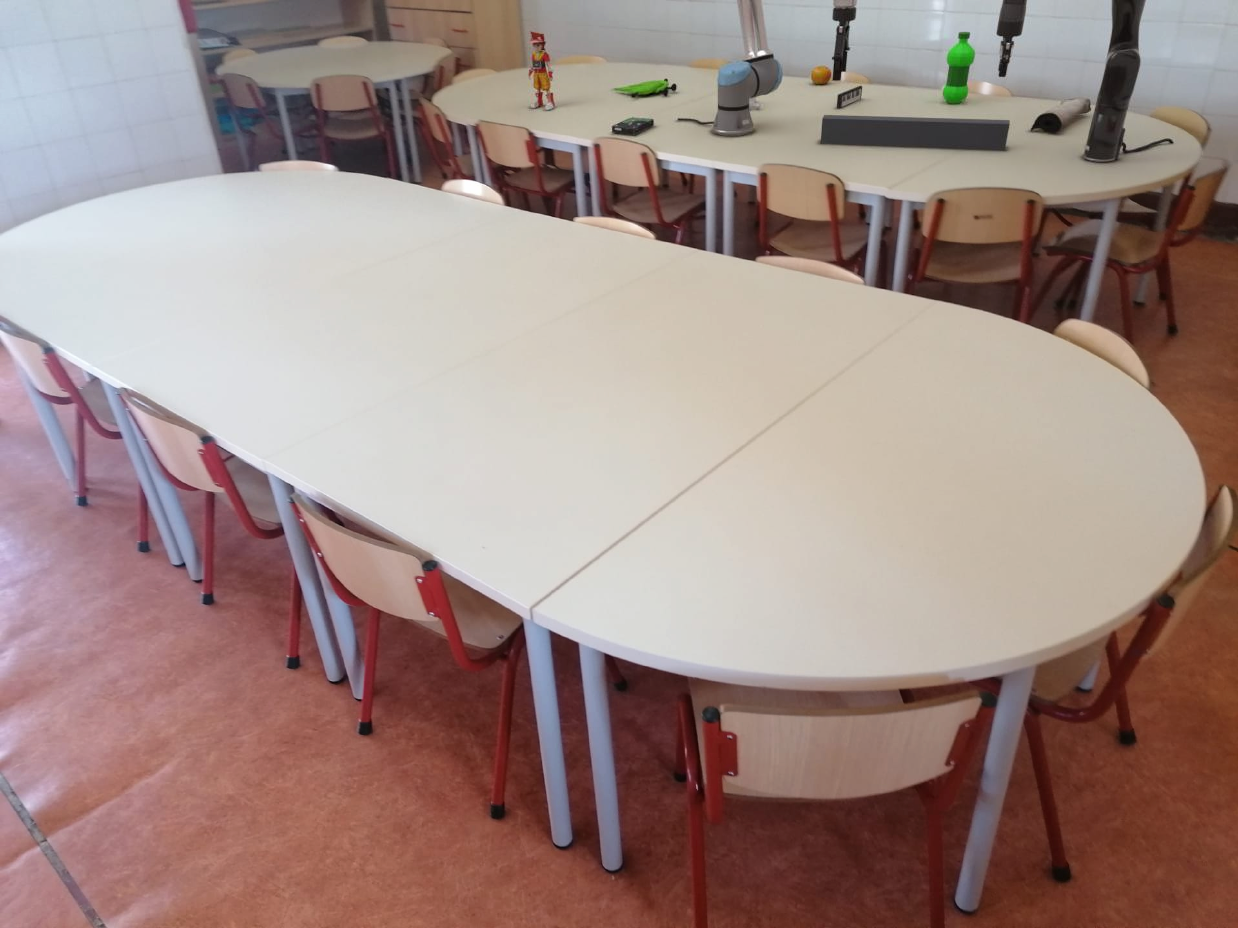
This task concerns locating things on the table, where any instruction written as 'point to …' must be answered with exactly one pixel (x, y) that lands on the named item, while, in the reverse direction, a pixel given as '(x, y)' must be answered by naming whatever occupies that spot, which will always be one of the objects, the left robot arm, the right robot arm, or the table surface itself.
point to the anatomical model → (753, 103)
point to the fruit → (821, 75)
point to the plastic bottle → (958, 69)
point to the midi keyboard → (849, 96)
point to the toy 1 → (541, 71)
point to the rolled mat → (1061, 115)
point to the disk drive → (632, 126)
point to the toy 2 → (648, 88)
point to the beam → (915, 132)
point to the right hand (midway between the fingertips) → (1001, 74)
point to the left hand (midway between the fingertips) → (839, 76)
